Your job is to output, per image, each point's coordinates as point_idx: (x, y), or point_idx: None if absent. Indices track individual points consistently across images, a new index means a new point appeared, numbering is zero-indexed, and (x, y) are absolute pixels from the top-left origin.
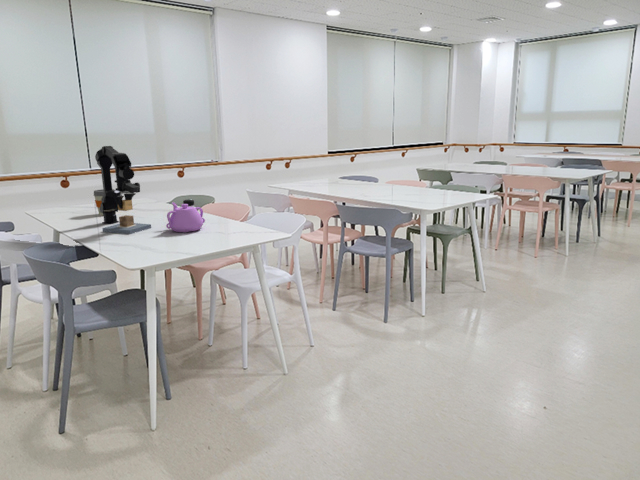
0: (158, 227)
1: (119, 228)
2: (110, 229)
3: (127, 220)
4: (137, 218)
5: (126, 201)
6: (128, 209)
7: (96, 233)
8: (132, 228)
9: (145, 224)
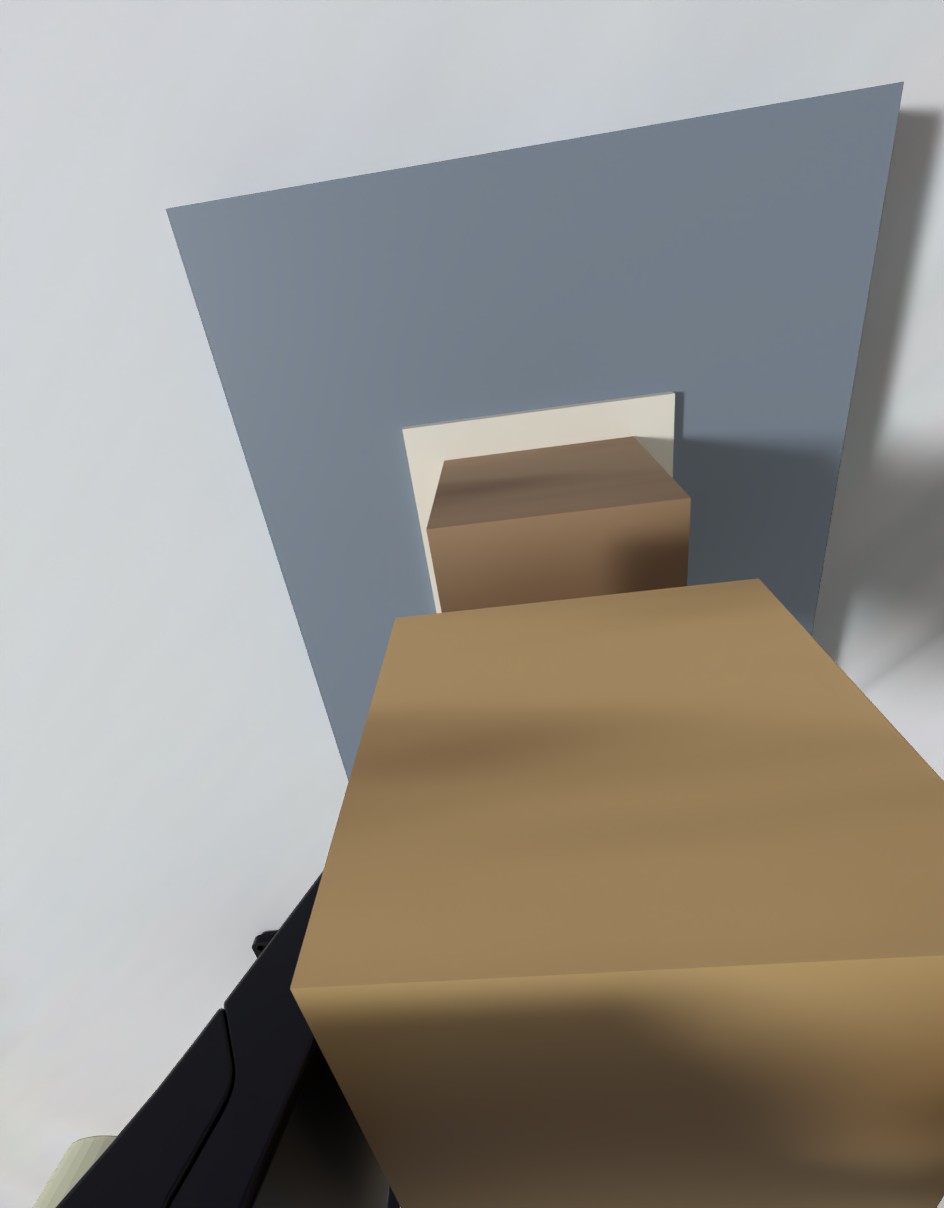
0: (69, 92)
1: (760, 492)
2: (810, 606)
3: (642, 475)
4: (8, 914)
5: (888, 923)
6: (620, 610)
7: (876, 706)
8: (699, 216)
9: (253, 323)
